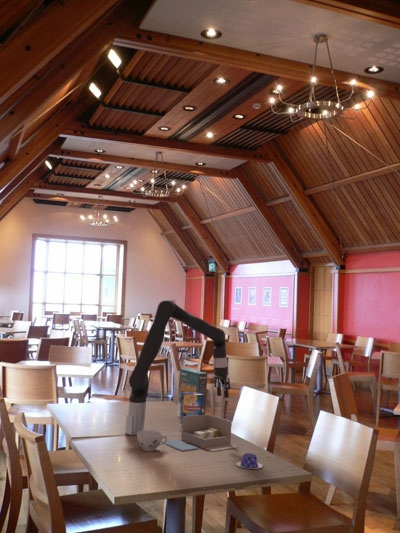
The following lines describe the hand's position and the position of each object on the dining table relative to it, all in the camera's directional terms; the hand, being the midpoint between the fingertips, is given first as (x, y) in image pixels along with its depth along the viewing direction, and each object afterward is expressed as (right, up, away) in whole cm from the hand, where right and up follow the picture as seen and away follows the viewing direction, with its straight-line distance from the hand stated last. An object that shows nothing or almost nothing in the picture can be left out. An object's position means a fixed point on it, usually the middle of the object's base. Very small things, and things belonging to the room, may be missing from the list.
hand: (222, 396), depth 298 cm
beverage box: (-18, -24, +13) cm, 32 cm away
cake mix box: (-18, -26, +50) cm, 59 cm away
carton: (-7, -23, -7) cm, 25 cm away
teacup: (-36, -20, -25) cm, 48 cm away
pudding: (+10, -22, -43) cm, 49 cm away
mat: (-23, -21, -15) cm, 34 cm away
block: (-10, -22, -5) cm, 25 cm away
